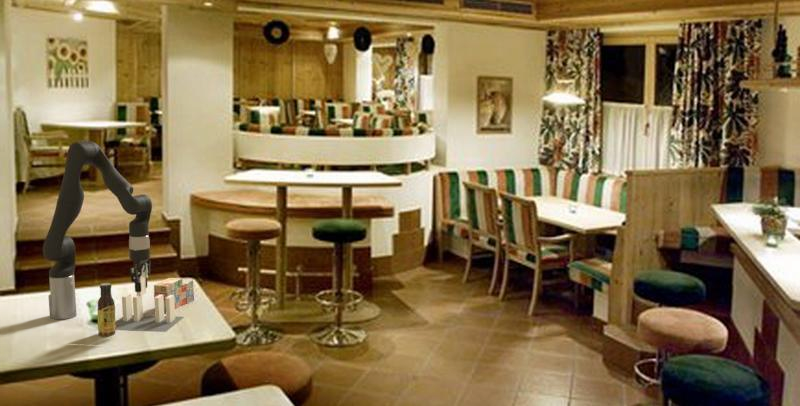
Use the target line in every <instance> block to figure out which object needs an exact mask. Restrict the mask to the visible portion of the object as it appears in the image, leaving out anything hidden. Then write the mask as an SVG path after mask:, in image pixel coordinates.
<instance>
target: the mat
mask: <svg viewBox="0 0 800 406" xmlns="http://www.w3.org/2000/svg"><path fill="white" fill-rule="evenodd" d="M184 318H185V316H176V315H175V319H174V320H173V321H172V322H171V323H167V322H166V315H164V319H163V320H162V321H160V322H156V320H155V315H146V314H145V315H144V314H143V318H142V319H141V320H139V321H134V314H132V318H131V319H129V320H128V321H123V316H121V317H120V318H119V319H117V320H115V326H116V330H115V331H131V332H132V331H133V332H134V331H135V332H139V331H140V332H157V333H159V332H161V333H166V332H168V331H169V330H170V329H171V328H172V327H174V326H175V325H177V324H178V323H179V322H180V321H182V319H184Z"/></svg>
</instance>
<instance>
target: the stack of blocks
mask: <svg viewBox="0 0 800 406" xmlns="http://www.w3.org/2000/svg"><path fill="white" fill-rule="evenodd" d="M194 289H195V288H194V280H193V279H183V278H182V277H181V278H179V277H167V278H166V279H164V280H162V281H160V282H158V283H155V284H153V297H154V298H155V297H157V296H158V295H163V297H164V314H166V301H165V298H166V297H168V296H169V295H174V303H175V310H177V309H179V308H180V307H184V306H186V305H188V304H189V303H191V302H193V301H194V300H195V290H194ZM192 300H193V301H192ZM187 303H188V304H187ZM185 304H186V305H185ZM183 305H184V306H183Z"/></svg>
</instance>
